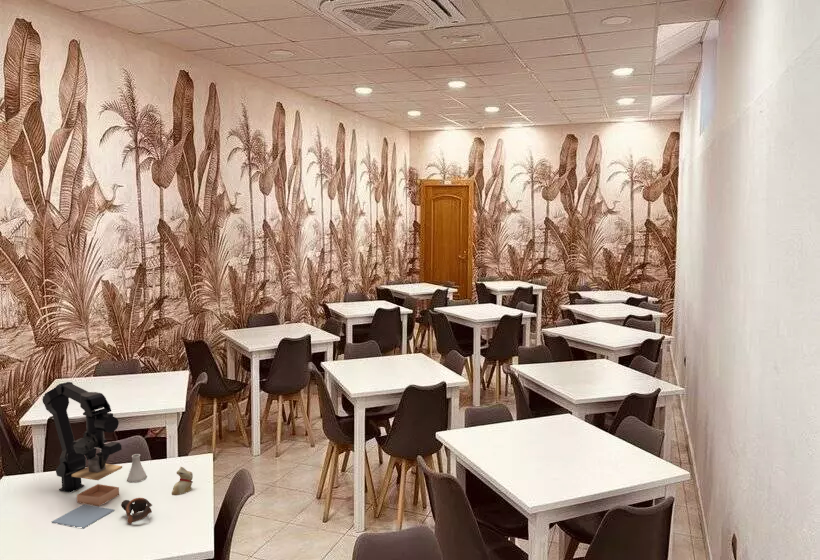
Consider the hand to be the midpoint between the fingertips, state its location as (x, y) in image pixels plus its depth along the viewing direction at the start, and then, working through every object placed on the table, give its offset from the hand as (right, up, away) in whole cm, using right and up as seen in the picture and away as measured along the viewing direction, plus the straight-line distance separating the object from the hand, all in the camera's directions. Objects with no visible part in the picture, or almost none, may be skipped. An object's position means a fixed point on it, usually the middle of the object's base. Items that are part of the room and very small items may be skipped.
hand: (97, 468), depth 233 cm
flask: (+7, -10, +19) cm, 23 cm away
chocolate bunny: (+29, -12, +8) cm, 32 cm away
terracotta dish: (0, -12, +1) cm, 12 cm away
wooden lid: (0, -2, 0) cm, 2 cm away
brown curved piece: (+21, -14, -14) cm, 29 cm away
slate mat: (+2, -13, -13) cm, 19 cm away
